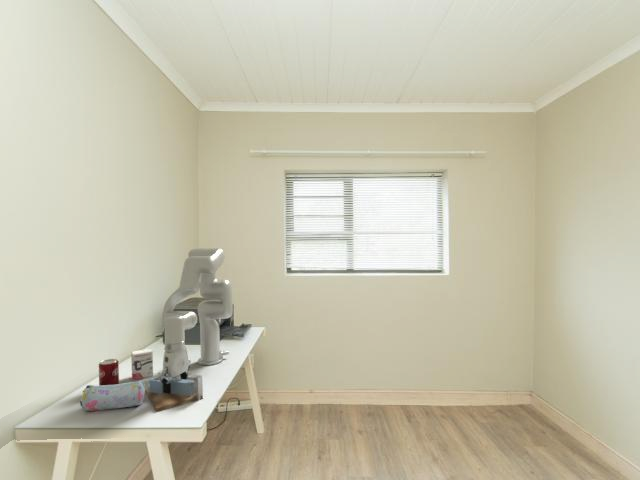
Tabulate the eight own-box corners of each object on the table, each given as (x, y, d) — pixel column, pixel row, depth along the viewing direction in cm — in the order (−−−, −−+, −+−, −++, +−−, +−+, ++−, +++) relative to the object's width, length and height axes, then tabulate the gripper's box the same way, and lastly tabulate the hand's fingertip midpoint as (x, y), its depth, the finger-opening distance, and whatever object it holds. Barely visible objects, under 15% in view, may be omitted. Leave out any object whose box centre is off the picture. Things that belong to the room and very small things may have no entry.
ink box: (132, 380, 160) (132, 354, 160) (131, 376, 164) (131, 351, 164) (153, 375, 165) (152, 350, 165) (151, 372, 169) (151, 348, 169)
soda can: (98, 394, 146) (97, 365, 146) (100, 388, 152) (99, 360, 152) (118, 390, 149) (118, 362, 149) (119, 384, 156) (118, 357, 156)
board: (187, 381, 158) (187, 378, 158) (202, 398, 140) (202, 395, 140) (145, 391, 148) (145, 388, 148) (156, 411, 130) (156, 408, 130)
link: (149, 392, 144) (149, 380, 144) (161, 385, 150) (160, 374, 150) (187, 398, 138) (187, 385, 138) (198, 391, 144) (198, 379, 144)
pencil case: (78, 415, 129) (78, 389, 129) (90, 404, 138) (90, 380, 137) (139, 410, 132) (138, 385, 132) (147, 399, 140) (146, 376, 140)
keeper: (187, 398, 140) (186, 376, 140) (191, 395, 143) (190, 374, 143) (198, 400, 139) (198, 378, 139) (202, 397, 141) (202, 375, 141)
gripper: (166, 353, 134) (167, 398, 134) (196, 340, 151) (197, 380, 151) (151, 351, 137) (152, 395, 137) (182, 339, 153) (183, 378, 153)
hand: (175, 387), depth 144 cm, fingers open, 9 cm apart
